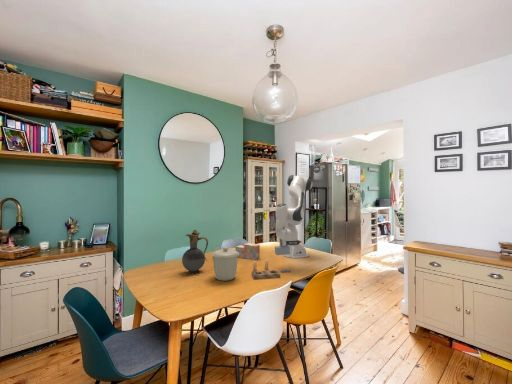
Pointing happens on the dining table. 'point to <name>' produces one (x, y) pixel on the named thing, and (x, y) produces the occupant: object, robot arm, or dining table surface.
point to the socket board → (265, 274)
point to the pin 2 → (266, 264)
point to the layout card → (285, 270)
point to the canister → (225, 263)
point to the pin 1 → (254, 265)
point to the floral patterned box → (249, 251)
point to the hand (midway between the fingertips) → (282, 244)
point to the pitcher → (194, 254)
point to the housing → (282, 249)
